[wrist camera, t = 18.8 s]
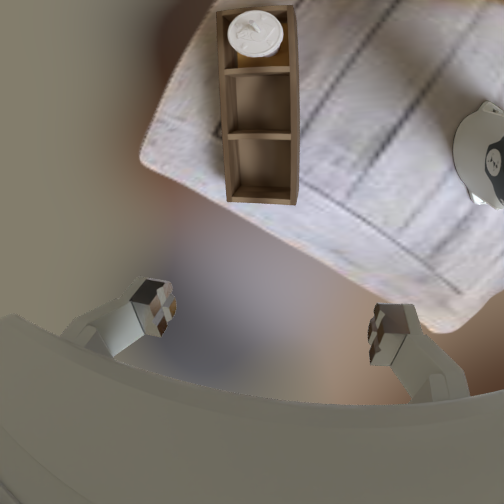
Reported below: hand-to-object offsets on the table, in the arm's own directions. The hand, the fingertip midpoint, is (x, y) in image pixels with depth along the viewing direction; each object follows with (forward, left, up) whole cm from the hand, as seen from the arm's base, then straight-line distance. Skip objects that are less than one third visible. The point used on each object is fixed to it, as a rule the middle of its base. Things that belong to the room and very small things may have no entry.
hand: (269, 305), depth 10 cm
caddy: (+6, -7, -35) cm, 36 cm away
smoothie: (+5, -16, -34) cm, 38 cm away
